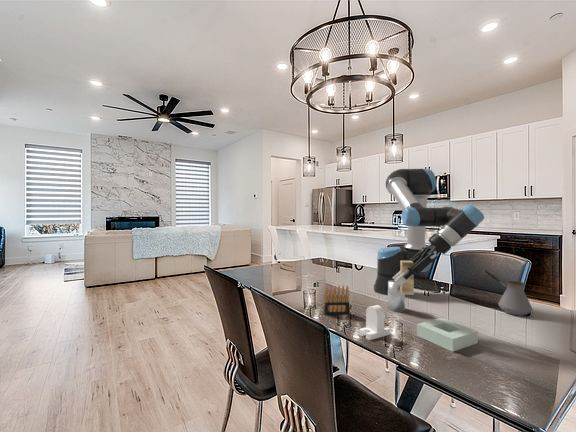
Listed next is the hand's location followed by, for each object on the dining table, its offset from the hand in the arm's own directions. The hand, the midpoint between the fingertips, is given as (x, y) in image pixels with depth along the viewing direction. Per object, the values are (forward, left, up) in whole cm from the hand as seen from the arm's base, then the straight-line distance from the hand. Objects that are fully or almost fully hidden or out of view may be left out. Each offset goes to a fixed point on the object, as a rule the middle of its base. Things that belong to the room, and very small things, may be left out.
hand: (396, 281), depth 111 cm
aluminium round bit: (-13, -12, -16) cm, 24 cm away
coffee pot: (-56, +9, -16) cm, 59 cm away
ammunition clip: (+14, -19, -16) cm, 29 cm away
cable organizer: (+14, +3, -16) cm, 22 cm away
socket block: (-5, +17, -16) cm, 24 cm away
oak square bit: (-3, +2, -4) cm, 6 cm away
